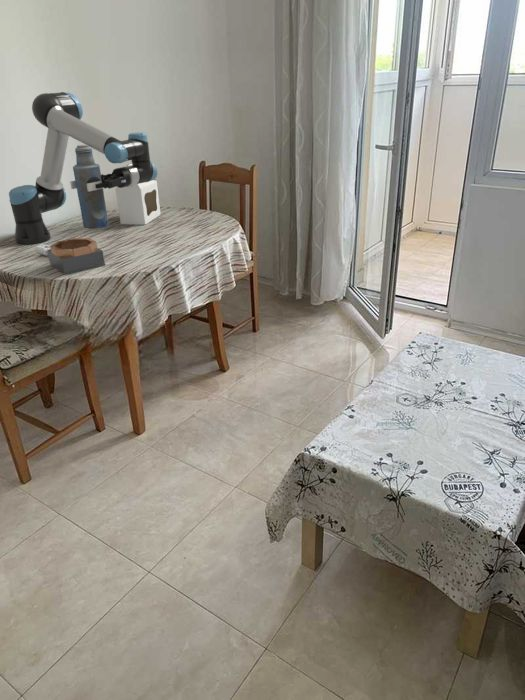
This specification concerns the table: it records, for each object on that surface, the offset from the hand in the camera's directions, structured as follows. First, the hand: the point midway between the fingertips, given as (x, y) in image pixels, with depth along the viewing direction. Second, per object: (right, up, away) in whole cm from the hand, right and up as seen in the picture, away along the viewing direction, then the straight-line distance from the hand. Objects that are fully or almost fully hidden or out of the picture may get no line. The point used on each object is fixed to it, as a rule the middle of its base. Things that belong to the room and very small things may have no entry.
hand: (79, 186), depth 197 cm
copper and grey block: (-5, -28, +11) cm, 30 cm away
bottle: (+3, -12, +11) cm, 17 cm away
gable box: (+6, +6, +76) cm, 76 cm away
